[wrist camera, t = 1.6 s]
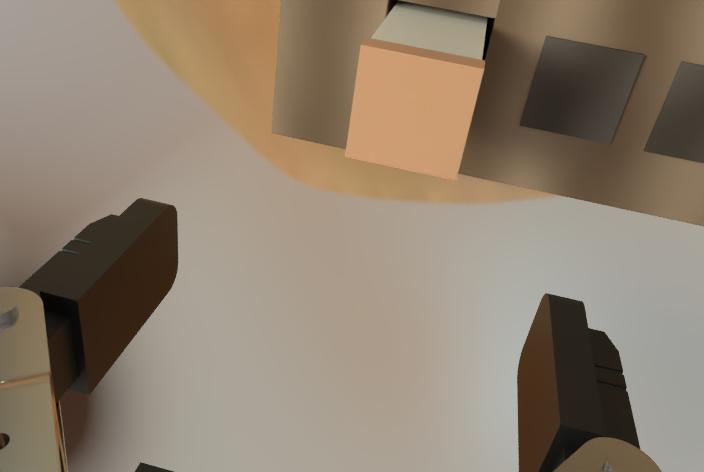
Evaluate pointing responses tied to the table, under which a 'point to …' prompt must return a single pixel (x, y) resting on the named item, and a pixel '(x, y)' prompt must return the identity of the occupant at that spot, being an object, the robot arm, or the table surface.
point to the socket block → (536, 94)
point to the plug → (417, 89)
